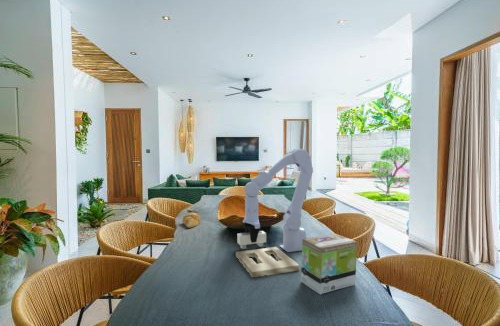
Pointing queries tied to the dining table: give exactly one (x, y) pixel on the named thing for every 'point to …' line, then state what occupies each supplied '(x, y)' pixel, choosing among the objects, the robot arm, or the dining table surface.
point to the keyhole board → (266, 262)
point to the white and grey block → (245, 239)
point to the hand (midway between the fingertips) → (251, 240)
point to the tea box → (328, 262)
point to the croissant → (191, 219)
